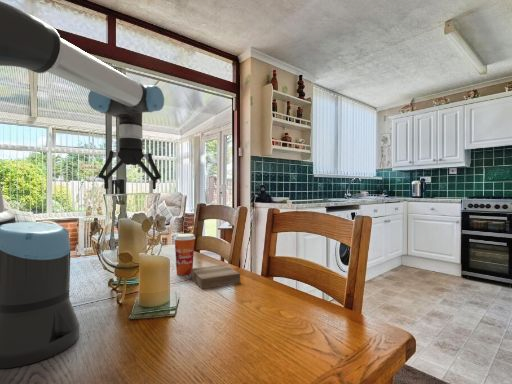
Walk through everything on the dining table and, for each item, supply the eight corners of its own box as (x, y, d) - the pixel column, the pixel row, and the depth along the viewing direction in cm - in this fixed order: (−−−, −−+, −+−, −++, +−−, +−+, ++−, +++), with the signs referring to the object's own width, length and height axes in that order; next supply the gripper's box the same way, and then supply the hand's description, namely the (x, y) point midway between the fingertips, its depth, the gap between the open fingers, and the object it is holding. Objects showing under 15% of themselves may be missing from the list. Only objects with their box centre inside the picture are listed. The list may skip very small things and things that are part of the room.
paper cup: (173, 276, 100) (173, 236, 100) (173, 270, 107) (174, 233, 107) (196, 275, 102) (196, 236, 102) (195, 269, 109) (195, 233, 109)
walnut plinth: (240, 282, 94) (240, 273, 94) (201, 288, 88) (201, 279, 88) (225, 272, 105) (225, 264, 105) (190, 277, 99) (190, 268, 99)
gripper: (164, 143, 110) (164, 197, 110) (90, 136, 97) (90, 198, 98) (169, 140, 103) (169, 198, 104) (90, 133, 91) (90, 199, 91)
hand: (130, 198), depth 101 cm, fingers open, 13 cm apart
